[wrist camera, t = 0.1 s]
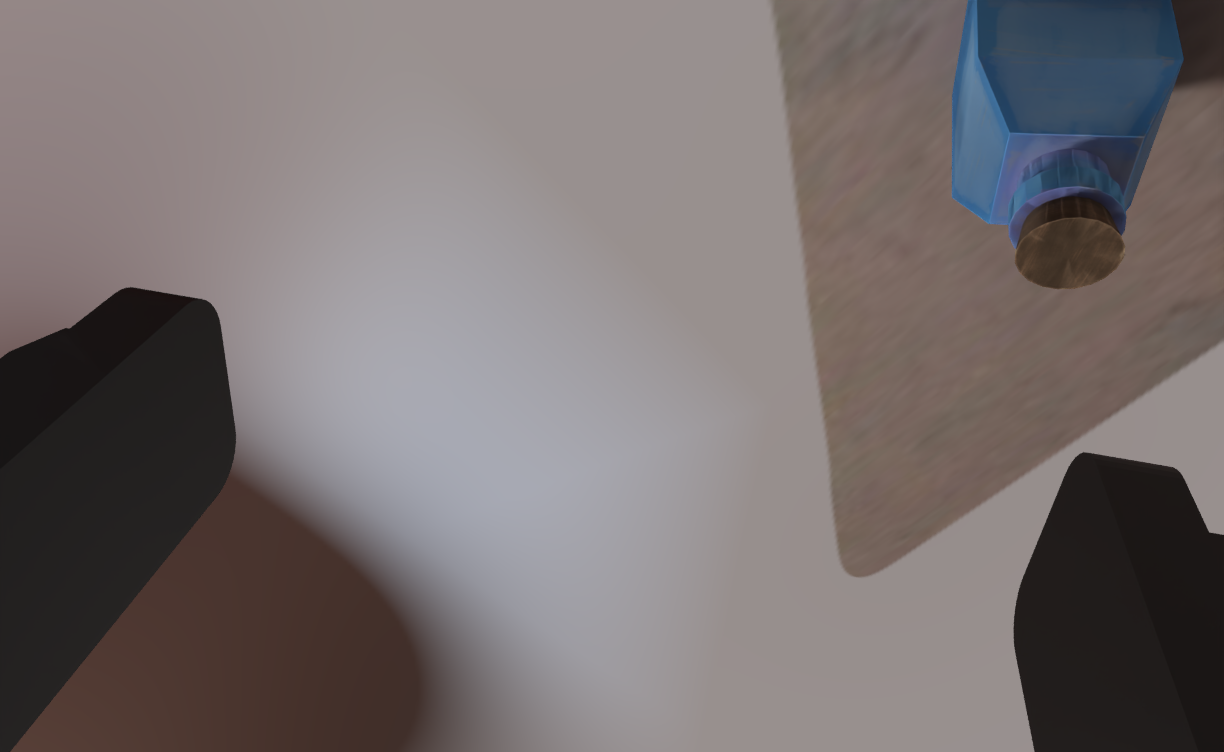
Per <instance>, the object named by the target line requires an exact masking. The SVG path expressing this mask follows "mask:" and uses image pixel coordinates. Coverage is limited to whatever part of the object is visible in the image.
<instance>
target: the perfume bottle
mask: <svg viewBox="0 0 1224 752" xmlns="http://www.w3.org/2000/svg"><path fill="white" fill-rule="evenodd" d="M1183 61H1184V57H1183V53H1182V48H1181V43H1180V39H1179V34H1178V29H1177V25H1176V20H1175V15H1174V11H1173V6H1172V2H1171V0H968V4H967V10H966V16H965V22H964V28H963V34H962V40H961V46H960V52H959V58H958V64H957V70H956V76H955V82H954V88H953V94H952V198H953V199H955V200H956V201H958V202H959V203H960V204H962V205H963V206H965V207H966V208H967V209H969V210H970V211H972V212H973V213H975V214H976V215H977V216H979V217H980V218H982V219H983V220H984V221H986V222H987V223H989V224H1003V225H1009V238H1010V240H1011V242H1012V244H1013V246H1014V248H1015V249H1016V251H1015V264H1016V266H1017V268H1018V270H1019V272H1020V274H1022V275H1023V276H1024V277H1025V278H1026V279H1027V280H1029V281H1030V282H1033V283H1035V284H1037V285H1040V286H1042V287H1047V288H1053V289H1075V288H1079V287H1083V286H1087V285H1091V284H1093V283H1095V282H1098V281H1100V280H1102V279H1104V278H1106V277H1107V276H1108V275H1109V274H1111V273H1112V272H1113V271H1114V270H1116V269H1117V267H1118V266H1119V264H1120V263H1121V261H1122V259H1123V258H1124V251H1125V245H1124V242H1123V239H1122V237H1121V235H1122V234H1123V232H1124V231H1125V224H1126V210H1127V209H1128V208H1129V207H1130V205H1131V202H1132V200H1133V197H1134V194H1135V192H1136V189H1137V186H1138V183H1139V181H1140V178H1141V175H1142V172H1143V170H1144V167H1145V164H1146V162H1147V159H1148V156H1149V153H1150V151H1151V148H1152V145H1153V142H1154V140H1155V137H1156V134H1157V132H1158V129H1159V126H1160V123H1161V121H1162V118H1163V115H1164V112H1165V110H1166V107H1167V104H1168V102H1169V99H1170V96H1171V93H1172V91H1173V88H1174V85H1175V83H1176V80H1177V77H1178V74H1179V72H1180V69H1181V66H1182V63H1183Z"/></svg>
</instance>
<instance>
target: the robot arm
mask: <svg viewBox="0 0 1224 752" xmlns="http://www.w3.org/2000/svg"><path fill="white" fill-rule="evenodd" d="M235 444H236V432H235V423H234V416H233V409H232V402H231V396H230V389H229V381H228V374H227V367H226V360H225V353H224V346H223V339H222V332H221V325H220V320H219V317H218V314H217V312H216V310H215V308H214V307H213V306H212V304H211V303H209V302H208V301H206V300H202V299H198V298H192V297H186V296H180V295H174V294H168V293H162V292H156V291H151V290H145V289H139V288H133V287H130V288H124V289H121V290H120V291H118V292H116V293H115V294H114V295H112V296H111V297H110V298H108V299H107V300H106V301H104V302H103V303H102V304H101V305H99V306H98V307H97V308H96V309H94V310H93V311H92V312H90V313H89V314H88V315H87V316H85V317H84V318H83V319H82V320H80V321H79V322H78V323H76V324H75V325H74V326H72V327H71V328H70V329H68V328H65V329H62V330H60V331H58V332H55V333H53V334H50V335H48V336H46V337H44V338H41V339H38V340H36V341H34V342H31V343H29V344H27V345H24V346H22V347H19V348H17V349H15V350H12V351H11V352H9V353H7V354H6V355H4V356H3V357H2V358H0V752H10V751H11V750H12V749H13V747H14V746H15V745H16V744H17V743H18V741H19V740H20V739H21V738H22V736H23V735H24V734H25V733H26V731H27V730H28V729H29V728H30V727H31V725H32V724H33V723H34V722H35V720H36V719H37V718H38V716H39V715H40V714H41V713H42V712H43V710H44V709H45V708H46V707H47V705H48V704H49V703H50V702H51V700H52V699H53V698H54V697H55V696H56V694H57V693H58V692H59V691H60V689H61V688H62V687H63V686H64V684H65V683H66V682H67V681H68V679H69V678H70V677H71V676H72V675H73V673H74V672H75V671H76V670H77V668H78V667H79V666H80V664H81V663H82V662H83V661H84V660H85V659H86V657H87V656H88V655H89V654H90V652H91V651H92V650H93V649H94V648H95V646H96V645H97V644H98V643H99V641H100V640H101V639H102V638H103V636H104V635H105V634H106V633H107V631H108V630H109V629H110V628H111V627H112V625H113V624H114V623H115V622H116V620H117V619H118V618H119V616H120V615H121V614H122V613H123V612H124V610H125V609H126V608H127V607H128V605H129V604H130V603H131V602H132V601H133V599H134V598H135V597H136V596H137V594H138V593H139V592H140V591H141V590H142V588H143V587H144V586H145V585H146V583H147V582H148V581H149V580H150V578H151V577H152V576H153V575H154V573H155V572H156V571H157V570H158V568H159V567H160V566H161V565H162V563H163V562H164V561H165V560H166V559H167V557H168V556H169V555H170V554H171V552H172V551H173V550H174V549H175V548H176V546H177V545H178V544H179V542H180V541H181V540H182V539H183V538H184V536H185V535H186V534H187V533H188V531H189V530H190V529H191V527H193V525H194V524H195V523H196V521H197V520H198V519H199V518H200V517H201V515H202V514H203V513H204V512H205V510H206V509H207V508H208V507H209V506H210V504H211V503H212V502H213V501H214V499H215V498H216V497H217V496H218V494H219V493H220V491H221V490H222V488H223V486H224V484H225V482H226V480H227V478H228V475H229V472H230V470H231V467H232V463H233V459H234V453H235ZM1014 647H1015V653H1016V659H1017V664H1018V669H1019V674H1020V679H1021V684H1022V689H1023V694H1024V700H1025V705H1026V710H1027V715H1028V720H1029V725H1030V730H1031V735H1032V741H1033V746H1034V751H1035V752H1224V535H1220V534H1214V533H1209V531H1208V529H1207V527H1206V525H1205V523H1204V521H1203V518H1202V516H1201V514H1200V512H1199V510H1198V508H1197V505H1196V503H1195V501H1194V499H1193V497H1192V495H1191V493H1190V491H1189V488H1188V486H1187V484H1186V482H1185V480H1184V478H1183V476H1182V475H1181V473H1180V472H1179V471H1178V470H1177V469H1175V468H1173V467H1168V466H1162V465H1156V464H1151V463H1145V462H1139V461H1133V460H1127V459H1121V458H1116V457H1109V456H1103V455H1098V454H1092V453H1084V452H1083V453H1081V454H1079V455H1078V456H1077V457H1075V459H1074V460H1073V461H1072V463H1071V464H1070V466H1069V468H1068V470H1067V472H1066V474H1065V476H1064V479H1063V481H1062V484H1061V486H1060V488H1059V491H1058V493H1057V496H1056V498H1055V501H1054V503H1053V506H1052V508H1051V511H1050V513H1049V515H1048V518H1047V520H1046V523H1045V525H1044V528H1043V530H1042V533H1041V535H1040V537H1039V540H1038V542H1037V545H1036V547H1035V549H1034V552H1033V554H1032V557H1031V559H1030V562H1029V564H1028V567H1027V569H1026V572H1025V574H1024V576H1023V579H1022V582H1021V585H1020V588H1019V592H1018V597H1017V601H1016V607H1015V616H1014Z"/></svg>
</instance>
